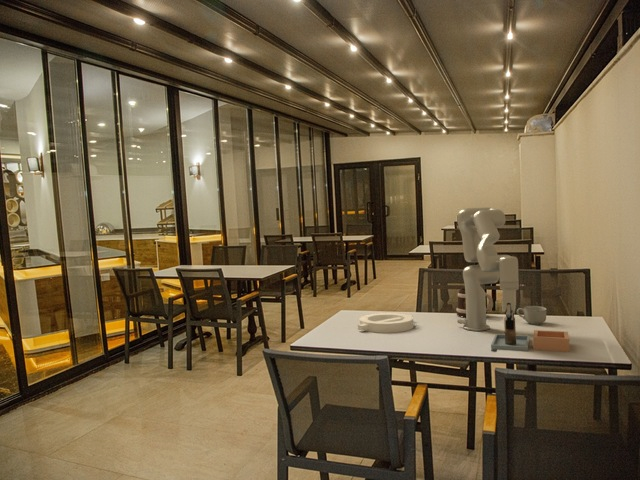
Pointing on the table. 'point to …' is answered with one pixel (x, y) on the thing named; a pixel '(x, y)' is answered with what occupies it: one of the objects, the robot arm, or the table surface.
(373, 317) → the ring with crossbar
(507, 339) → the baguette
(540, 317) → the teacup
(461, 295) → the mug
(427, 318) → the table surface
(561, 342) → the open box
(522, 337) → the tray
